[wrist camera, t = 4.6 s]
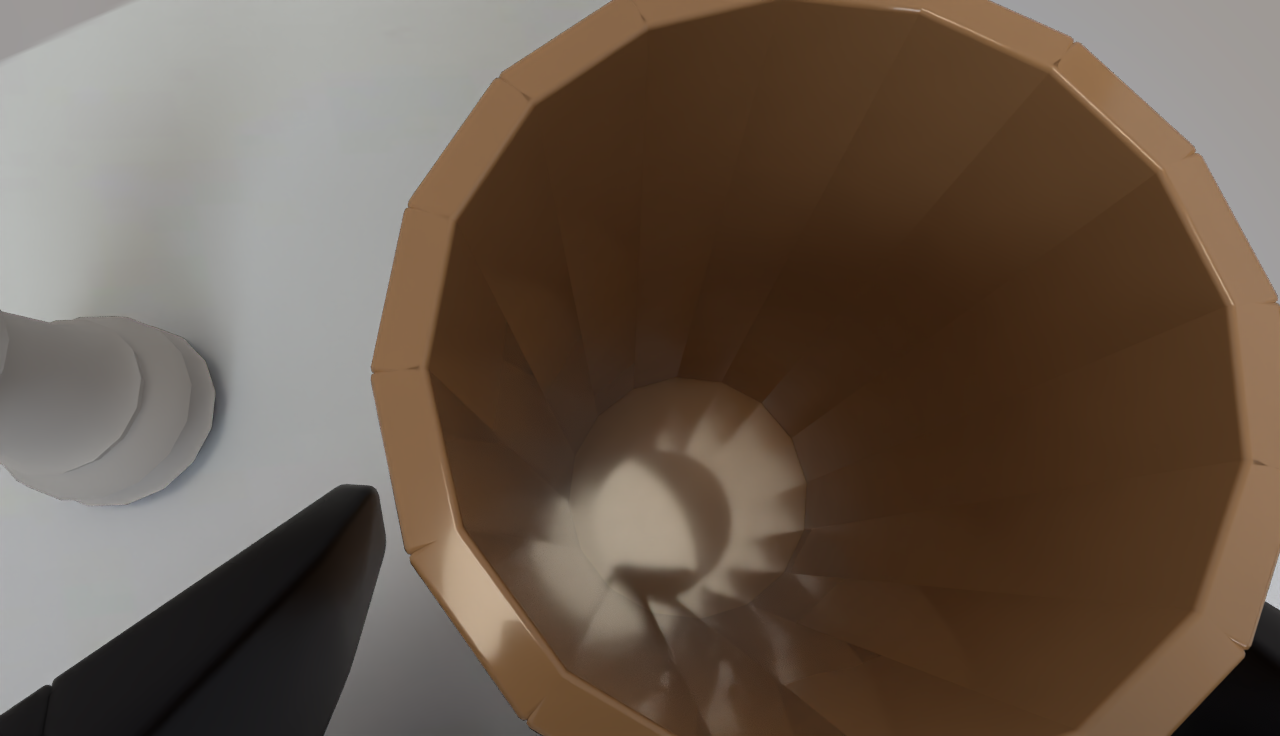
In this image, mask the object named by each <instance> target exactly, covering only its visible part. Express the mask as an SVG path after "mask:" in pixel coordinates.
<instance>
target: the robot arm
mask: <svg viewBox="0 0 1280 736" xmlns="http://www.w3.org/2000/svg"><path fill="white" fill-rule="evenodd" d="M385 547H386V534H385V528H384V522H383V516H382V510H381V504H380V499H379V494H378V492H377V490H376V489H375V488H374V487H372V486H368V485H351V484H344V485H340V486H338V487H336V488H334V489H333V490H331V491H330V492H329V493H327V494H326V495H324V496H323V497H321V498H320V499H318V500H317V501H315V502H314V503H312V504H311V505H309V506H308V507H306V508H305V509H304V510H302V511H301V512H299V513H298V514H296V515H295V516H293V517H292V518H290V519H289V520H287V521H286V522H284V523H283V524H281V525H280V526H279V527H277V528H276V529H274V530H273V531H271V532H270V533H268V534H267V535H265V536H264V537H262V538H261V539H259V540H258V541H256V542H255V543H254V544H252V545H251V546H249V547H248V548H246V549H245V550H243V551H242V552H240V553H239V554H237V555H236V556H234V557H233V558H231V559H230V560H229V561H227V562H226V563H224V564H223V565H221V566H220V567H218V568H217V569H215V570H214V571H212V572H211V573H209V574H208V575H206V576H205V577H204V578H202V579H201V580H199V581H198V582H196V583H195V584H193V585H192V586H190V587H189V588H187V589H186V590H184V591H183V592H182V593H180V594H179V595H177V596H176V597H174V598H173V599H171V600H170V601H168V602H167V603H165V604H164V605H162V606H161V607H159V608H158V609H157V610H155V611H154V612H152V613H151V614H149V615H148V616H146V617H145V618H143V619H142V620H140V621H139V622H137V623H136V624H134V625H133V626H132V627H130V628H129V629H127V630H126V631H124V632H123V633H121V634H120V635H118V636H117V637H115V638H114V639H112V640H111V641H109V642H108V643H107V644H105V645H104V646H102V647H101V648H99V649H98V650H96V651H95V652H93V653H92V654H90V655H89V656H87V657H86V658H84V659H83V660H82V661H80V662H79V663H77V664H76V665H74V666H73V667H71V668H70V669H68V670H67V671H65V672H64V673H62V674H61V675H59V676H58V677H57V678H55V679H54V681H53V683H52V686H50V685H45V686H43V687H41V688H40V689H38V690H37V691H36V692H34V693H33V694H31V695H30V696H28V697H27V698H25V699H24V700H22V701H21V702H19V703H18V704H16V705H15V706H13V707H12V708H11V709H9V710H8V711H6V712H5V713H3V714H2V715H0V736H324V733H325V731H326V729H327V726H328V724H329V721H330V719H331V717H332V714H333V712H334V709H335V707H336V705H337V702H338V700H339V697H340V695H341V693H342V690H343V688H344V685H345V682H346V680H347V677H348V675H349V672H350V669H351V666H352V663H353V660H354V657H355V653H356V650H357V647H358V643H359V640H360V636H361V633H362V630H363V626H364V623H365V619H366V616H367V612H368V609H369V605H370V602H371V599H372V595H373V592H374V588H375V585H376V581H377V578H378V574H379V571H380V568H381V564H382V561H383V557H384V553H385ZM1244 651H1245V657H1244V659H1243V660H1242V661H1241V662H1240V663H1239V664H1238V665H1237V666H1236V667H1235V668H1234V669H1233V670H1232V671H1231V672H1230V673H1229V674H1228V676H1227V677H1226V678H1225V679H1224V680H1223V681H1222V682H1221V683H1220V684H1219V685H1218V686H1217V687H1216V688H1215V689H1214V690H1213V691H1212V692H1211V693H1210V695H1209V696H1208V697H1207V698H1206V699H1205V700H1204V701H1203V702H1202V703H1201V704H1200V705H1199V706H1198V707H1197V708H1196V709H1195V710H1194V711H1193V712H1192V713H1191V715H1190V716H1189V717H1188V718H1187V719H1186V720H1185V721H1184V722H1183V723H1182V724H1181V725H1180V726H1179V727H1178V728H1177V729H1176V730H1175V731H1174V732H1173V734H1172V735H1171V736H1280V610H1278V609H1277V608H1275V607H1274V606H1272V605H1270V604H1269V603H1267V602H1264V606H1263V609H1262V612H1261V615H1260V619H1259V622H1258V625H1257V629H1256V632H1255V635H1254V638H1253V642H1252V645H1251V647H1250V648H1249V649H1248V650H1244Z"/></svg>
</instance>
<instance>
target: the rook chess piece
mask: <svg viewBox="0 0 1280 736" xmlns="http://www.w3.org/2000/svg"><path fill="white" fill-rule="evenodd" d="M215 393H216V392H215V389H214V386H213V383H212V380H211V377H210V374H209V371H208V367H207V364H206V361H205V360H204V359H203V358H202V357H201V356H200V355H199V354H198V353H197V352H196V351H195V350H194V349H193V348H192V347H191V346H190V345H189V344H188V342H187V341H186V340H185V339H184V338H182V337H179V336H177V335H174V334H171V333H169V332H166V331H164V330H161V329H158V328H156V327H153V326H149V325H146V324H143V323H141V322H138V321H136V320H133V319H130V318H128V317H116V316H109V317H79V318H76V319H73V320H58V321H53V322H51V323H50V322H45V321H41V320H36V319H32V318H28V317H23V316H19V315H15V314H10V313H6V312H2V311H1V310H0V464H2V465H4V466H5V468H6V469H7V470H8V471H9V472H10V473H11V475H12V476H13V477H14V478H15V479H16V480H17V481H18V482H20V483H22V484H24V485H25V486H27V487H30V488H32V489H35V490H37V491H40V492H42V493H45V494H47V495H49V496H52V497H54V498H57V499H59V500H75V501H77V502H80V503H82V504H85V505H87V506H105V505H127V504H130V503H132V502H134V501H137V500H139V499H141V498H144V497H146V496H148V495H151V494H153V493H156V492H158V491H160V490H163V489H164V488H165V487H166V486H168V485H169V484H170V483H171V482H172V481H173V480H174V479H175V478H176V477H177V476H179V475H180V474H181V473H182V472H183V471H184V470H185V469H186V468H187V467H188V466H190V465H191V464H192V463H193V462H194V460H195V458H196V456H197V454H198V452H199V450H200V449H201V447H202V445H203V443H204V441H205V439H206V437H207V435H208V434H209V432H210V430H211V428H212V419H213V411H214V402H215Z"/></svg>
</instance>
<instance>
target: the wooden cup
mask: <svg viewBox="0 0 1280 736" xmlns="http://www.w3.org/2000/svg"><path fill="white" fill-rule="evenodd" d="M1073 42H1074V40H1073V38H1072V37H1070V36H1068V35H1066V34H1064V33H1061V32H1059V31H1057V30H1055V29H1052V28H1050V27H1048V26H1046V25H1044V24H1041V23H1039V22H1037V21H1035V20H1032V19H1030V18H1028V17H1026V16H1023V15H1021V14H1019V13H1017V12H1014V11H1012V10H1010V9H1008V8H1005V7H1003V6H1001V5H999V4H996V3H994V2H992V1H990V0H612V1H610V2H609V3H607V4H606V5H604V6H603V7H601V8H600V9H598V10H597V11H595V12H593V13H592V14H590V15H589V16H587V17H586V18H584V19H583V20H581V21H580V22H578V23H577V24H575V25H573V26H572V27H570V28H569V29H567V30H566V31H564V32H563V33H561V34H560V35H558V36H557V37H555V38H554V39H552V40H550V41H549V42H547V43H546V44H544V45H543V46H541V47H540V48H538V49H537V50H535V51H534V52H532V53H530V54H529V55H527V56H526V57H524V58H523V59H521V60H520V61H518V62H517V63H515V64H514V65H512V66H510V67H509V68H507V69H506V70H504V71H503V72H502V73H501V74H500V76H499V78H496V79H494V80H493V82H492V83H491V85H490V86H489V87H488V89H487V90H486V92H485V93H484V94H483V96H482V97H481V99H480V100H479V102H478V103H477V104H476V106H475V107H474V109H473V110H472V112H471V113H470V114H469V116H468V117H467V119H466V120H465V122H464V123H463V124H462V126H461V127H460V129H459V130H458V131H457V133H456V134H455V136H454V137H453V139H452V140H451V141H450V143H449V144H448V146H447V147H446V149H445V150H444V151H443V153H442V154H441V156H440V157H439V158H438V160H437V161H436V163H435V164H434V166H433V167H432V168H431V170H430V171H429V173H428V174H427V176H426V177H425V178H424V180H423V181H422V183H421V184H420V185H419V187H418V188H417V190H416V191H415V193H414V194H413V195H412V197H411V198H410V200H409V202H408V208H406V209H405V211H404V214H403V219H402V224H401V229H400V233H399V238H398V243H397V247H396V252H395V257H394V261H393V266H392V271H391V275H390V280H389V285H388V289H387V294H386V299H385V303H384V308H383V313H382V317H381V322H380V327H379V331H378V336H377V341H376V345H375V350H374V355H373V359H372V364H371V370H372V373H374V374H372V375H371V385H372V390H373V395H374V400H375V405H376V410H377V415H378V420H379V425H380V429H381V434H382V439H383V444H384V449H385V454H386V459H387V464H388V469H389V474H390V479H391V484H392V489H393V494H394V499H395V504H396V509H397V514H398V519H399V523H400V528H401V533H402V538H403V543H404V548H405V551H406V552H407V553H408V554H410V555H411V556H410V557H409V558H410V562H411V564H412V566H413V567H414V569H415V570H416V572H417V573H418V574H419V576H420V577H421V579H422V580H423V582H424V583H425V585H426V586H427V587H428V589H429V590H430V592H431V593H432V595H433V596H434V597H435V599H436V600H437V602H438V603H439V605H440V606H441V607H442V609H443V610H444V612H445V613H446V615H447V616H448V617H449V619H450V620H451V622H452V623H453V625H454V626H455V627H456V629H457V630H458V632H459V633H460V635H461V636H462V637H463V639H464V640H465V642H466V643H467V645H468V646H469V648H470V649H471V650H472V652H473V653H474V655H475V656H476V658H477V659H478V660H479V662H480V663H481V665H482V666H483V668H484V669H485V670H486V672H487V673H488V675H489V676H490V678H491V679H492V680H493V682H494V683H495V685H496V686H497V688H498V689H499V690H500V692H501V693H502V695H503V696H504V698H505V699H506V700H507V702H508V703H509V705H510V706H511V708H512V709H513V710H514V712H515V713H516V715H517V716H518V718H520V719H522V720H523V721H524V720H527V722H526V724H527V725H528V726H529V728H530V729H532V730H533V731H535V732H536V733H538V734H540V735H541V736H1171V735H1172V734H1173V732H1174V731H1175V730H1176V729H1177V728H1178V727H1179V726H1180V725H1181V724H1182V723H1183V722H1184V721H1185V720H1186V719H1187V718H1188V717H1189V716H1190V715H1191V713H1192V712H1193V711H1194V710H1195V709H1196V708H1197V707H1198V706H1199V705H1200V704H1201V703H1202V702H1203V701H1204V700H1205V699H1206V698H1207V697H1208V696H1209V695H1210V693H1211V692H1212V691H1213V690H1214V689H1215V688H1216V687H1217V686H1218V685H1219V684H1220V683H1221V682H1222V681H1223V680H1224V679H1225V678H1226V677H1227V676H1228V674H1229V673H1230V672H1231V671H1232V670H1233V669H1234V668H1235V667H1236V666H1237V665H1238V664H1239V663H1240V662H1241V661H1242V660H1243V659H1244V657H1245V651H1244V650H1248V649H1249V648H1250V647H1251V645H1252V642H1253V638H1254V635H1255V632H1256V629H1257V625H1258V622H1259V619H1260V615H1261V612H1262V609H1263V606H1264V602H1265V599H1266V596H1267V593H1268V589H1269V586H1270V583H1271V579H1272V576H1273V573H1274V570H1275V566H1276V563H1277V560H1278V557H1279V553H1280V305H1279V304H1278V303H1276V301H1277V300H1278V295H1277V294H1276V292H1275V290H1274V288H1273V286H1272V284H1271V283H1270V281H1269V279H1268V277H1267V275H1266V274H1265V272H1264V270H1263V268H1262V266H1261V264H1260V262H1259V260H1258V259H1257V257H1256V255H1255V253H1254V251H1253V249H1252V248H1251V246H1250V244H1249V242H1248V240H1247V238H1246V237H1245V235H1244V233H1243V231H1242V229H1241V227H1240V225H1239V224H1238V222H1237V220H1236V218H1235V216H1234V214H1233V212H1232V211H1231V209H1230V207H1229V205H1228V203H1227V201H1226V200H1225V198H1224V196H1223V194H1222V192H1221V190H1220V189H1219V187H1218V185H1217V183H1216V181H1215V179H1214V177H1213V176H1212V174H1211V172H1210V170H1209V168H1208V166H1207V164H1206V163H1205V161H1204V159H1203V157H1202V156H1201V155H1200V154H1198V153H1195V151H1196V149H1195V147H1194V146H1193V145H1192V144H1191V143H1190V142H1189V141H1188V140H1186V138H1184V137H1183V136H1182V135H1181V134H1180V133H1179V132H1178V131H1177V130H1176V129H1175V128H1173V127H1172V126H1171V125H1170V124H1169V123H1168V122H1167V121H1166V120H1165V119H1164V118H1162V117H1161V116H1160V115H1159V114H1158V113H1157V112H1156V111H1155V110H1154V109H1153V108H1151V107H1150V106H1149V105H1148V104H1147V103H1146V102H1145V101H1144V100H1143V99H1142V98H1140V97H1139V96H1138V95H1137V94H1136V93H1135V92H1134V91H1133V90H1132V89H1130V88H1129V87H1128V86H1127V85H1126V84H1125V83H1124V82H1123V81H1122V80H1121V79H1120V78H1118V77H1117V76H1116V75H1115V74H1114V73H1113V72H1112V71H1111V70H1110V69H1109V68H1107V67H1106V66H1105V65H1104V64H1103V63H1102V62H1101V61H1100V60H1099V59H1098V58H1096V57H1095V56H1094V55H1093V54H1092V53H1091V52H1090V51H1089V50H1088V49H1087V48H1085V47H1084V46H1083V45H1082V44H1081V43H1079V42H1075V43H1073Z"/></svg>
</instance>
